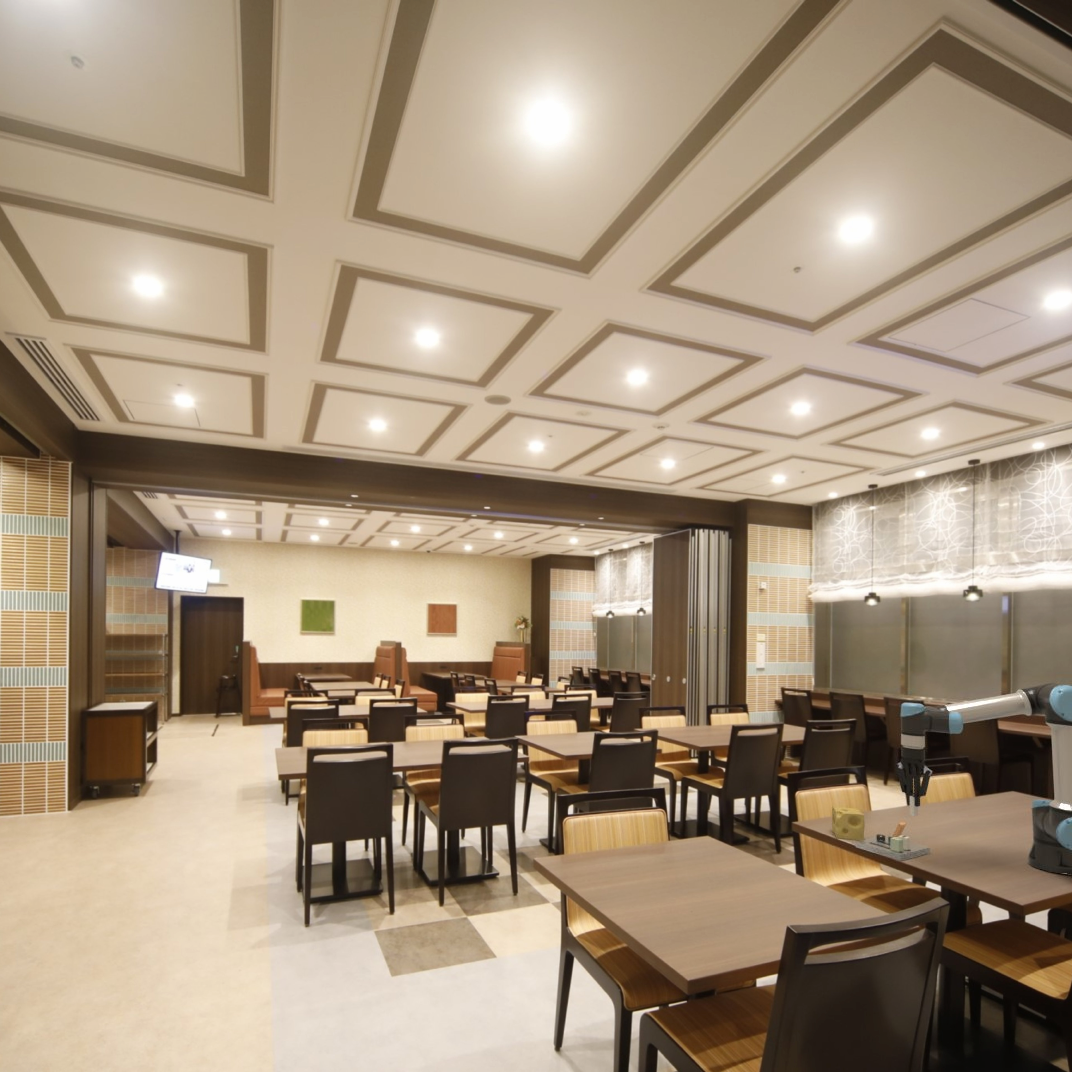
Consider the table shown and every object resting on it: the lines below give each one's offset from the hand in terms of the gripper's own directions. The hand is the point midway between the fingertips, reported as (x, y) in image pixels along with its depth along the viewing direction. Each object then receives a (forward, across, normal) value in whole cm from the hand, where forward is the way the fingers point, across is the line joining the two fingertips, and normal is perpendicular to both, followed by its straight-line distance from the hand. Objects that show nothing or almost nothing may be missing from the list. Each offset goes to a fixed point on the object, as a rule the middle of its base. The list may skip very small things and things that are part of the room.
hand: (913, 815), depth 247 cm
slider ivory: (+14, +6, -5) cm, 16 cm away
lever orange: (+14, +13, -11) cm, 22 cm away
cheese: (+16, +30, -7) cm, 35 cm away
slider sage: (+14, +6, 0) cm, 15 cm away
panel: (+16, +11, -6) cm, 20 cm away
